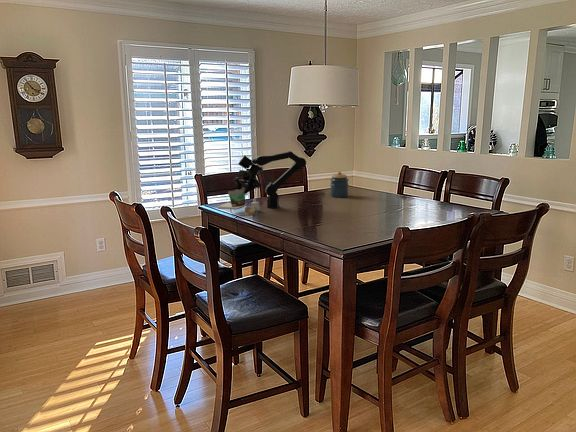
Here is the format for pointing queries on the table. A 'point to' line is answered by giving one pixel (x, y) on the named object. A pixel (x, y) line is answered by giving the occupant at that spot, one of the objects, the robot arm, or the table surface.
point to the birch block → (249, 210)
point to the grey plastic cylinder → (255, 205)
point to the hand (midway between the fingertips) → (240, 193)
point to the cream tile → (229, 206)
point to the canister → (339, 185)
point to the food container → (237, 197)
